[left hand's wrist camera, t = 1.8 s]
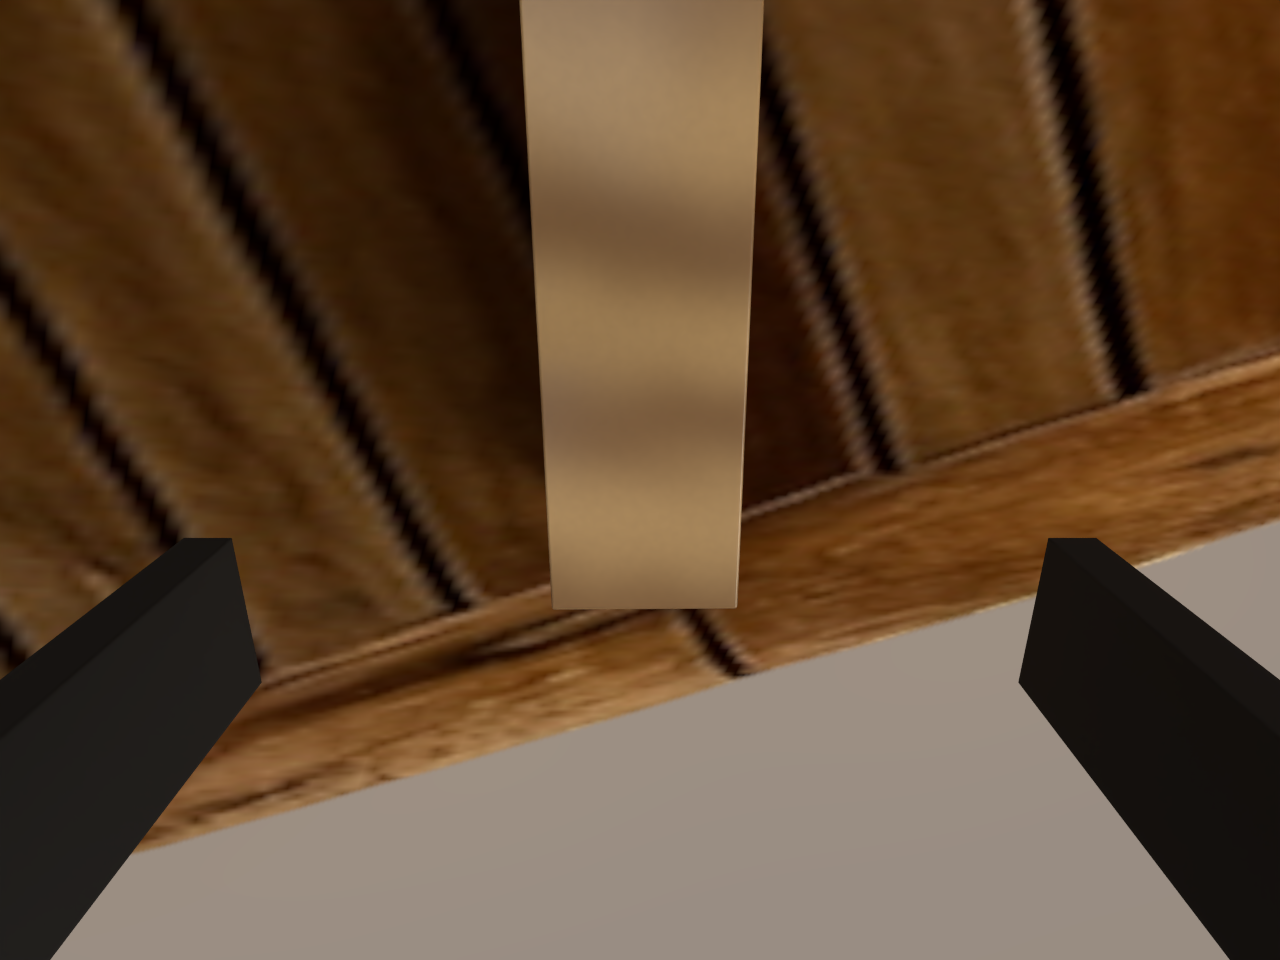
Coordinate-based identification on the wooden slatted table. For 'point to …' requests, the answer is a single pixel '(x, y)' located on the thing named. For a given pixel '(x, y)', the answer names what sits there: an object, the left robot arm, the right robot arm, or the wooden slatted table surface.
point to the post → (643, 290)
